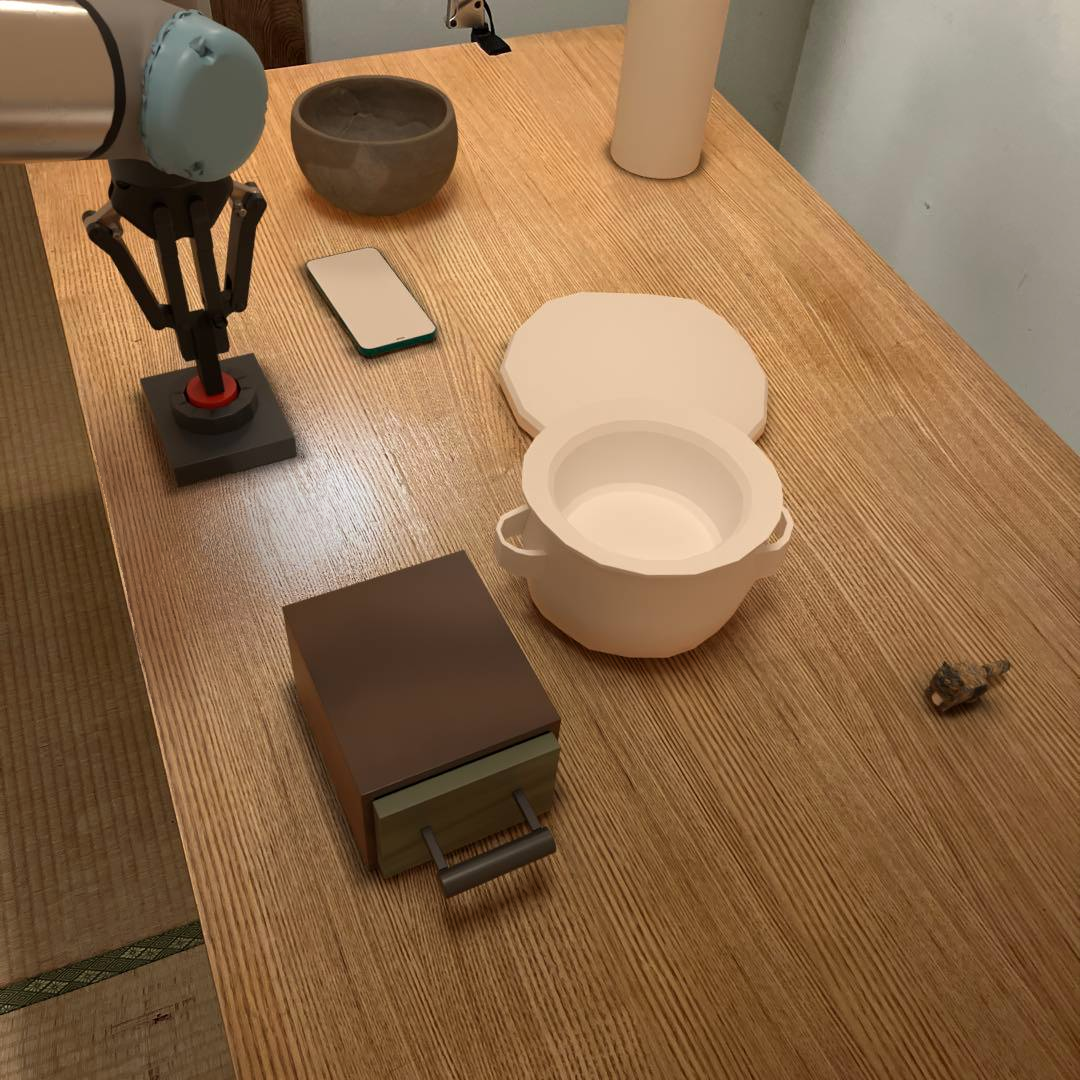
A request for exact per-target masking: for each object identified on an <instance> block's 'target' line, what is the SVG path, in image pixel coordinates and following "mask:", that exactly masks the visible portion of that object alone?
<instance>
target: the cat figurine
mask: <svg viewBox="0 0 1080 1080" xmlns="http://www.w3.org/2000/svg"><path fill="white" fill-rule="evenodd" d="M1010 670H1011V663H1010V662H1009V661H1007V660H1005V659H1000V660H995V661H993V662H992V661H991V662H988V663H986V664H985V663H984V664H982V665H975V664H973V663H971V662H969V661H968V660H964V661H961V662H958V663H953V664H951V665H950V664H949V663H948V662H947V661H946V660H943V663H942V665H941V666H940V667H939V668H938V669H937V671H936V672H935V673H933V675H932V677H931V679H930V680H929V682H928V684H929V686H928V687H926V688H925V689H924V692H925V693H926V694H927V695H928V696H929V697H930V696H931V700H932V703H933V704H935V705H936V706H937V707H938V709H939V710H940V711H941V712H945V711H948V710H949V709H950V708H952V707H954V706H957V705H959V704H961V703H967V704H971V703H974V702H976V701H977V700H978V699H979V698H980V697H981V696H983V695H984V694H985V693H987V692H988V691H989V687H988V683H987V680H988V679H992V678H994V677H998V676H1001V675H1003V674H1005V673H1008V671H1010Z"/></svg>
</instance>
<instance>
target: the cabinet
mask: <svg viewBox="0 0 1080 1080" xmlns="http://www.w3.org/2000/svg"><path fill="white" fill-rule="evenodd" d="M281 611H282V615H283V621H284V627H285V632H286V633H285V634H286V638H287V644H288V649H289V656H290V660H291V661H290V662H291V668H292V673H293V679H294V685H295V689H296V694H297V696H298V700H299V701H300V703H301V706H302V708H303V711H304V714H305V716H306V719H307V722H308V723H309V726H310V729H311V731H312V734H313V736H314V739H315V741H316V743H317V746H318V749H319V751H320V753H321V756H322V758H323V762H324V763H325V766H326V769H327V771H328V773H329V776H330V778H331V781H332V784H333V786H334V788H335V791H336V793H337V796H338V799H339V801H340V802H341V807H342V808H343V811H344V813H345V816H346V819H347V821H348V823H349V826H350V828H351V831H352V833H353V837H354V839H355V840H356V844H357V846H358V848H359V851H360V853H361V855H362V858H363V860H364V864H365V865H366V868H367V871H368V872H371V871H373V870H376V869H380V867H379V864H378V857H377V847H376V836H375V825H374V815H373V804H372V802H373V801H375V799H374V798H375V797H378V796H381V795H383V794H386V793H388V792H391V791H394V790H396V789H399V788H401V787H404V786H406V785H409V784H412V783H414V782H417V781H419V780H422V779H424V778H427V777H430V776H432V775H435V774H437V773H440V772H443V771H445V770H448V769H450V768H453V767H455V766H458V765H461V764H463V763H466V762H468V761H471V760H473V759H476V758H479V757H481V756H484V755H486V754H489V753H492V752H494V751H497V750H499V749H502V748H504V747H507V746H510V745H512V744H515V743H517V742H520V741H523V740H525V739H528V738H530V739H529V740H532V739H535V738H537V737H540V736H542V735H545V734H547V733H550V732H553V734H554V736H555V738H556V739H557V741H558V742H559V738H560V731H561V725H562V717H561V715H560V713H559V711H558V710H557V708H556V707H555V705H554V703H553V701H552V700H551V698H550V696H549V695H548V692H547V691H546V689H545V687H544V686H543V684H542V682H541V680H540V679H539V677H538V675H537V674H536V672H535V670H534V668H533V667H532V665H531V663H530V661H529V659H528V658H527V656H526V655H525V653H524V651H523V649H522V647H521V646H520V644H519V642H518V641H517V639H516V637H515V635H514V633H513V632H512V630H511V629H510V627H509V625H508V623H507V622H506V619H505V618H504V615H502V613H501V611H500V609H499V607H498V605H497V603H496V602H495V600H494V598H493V597H492V595H491V594H490V592H489V590H488V588H487V587H486V584H485V582H483V580H482V578H481V576H480V574H479V572H478V571H477V569H476V567H475V566H474V564H473V562H472V560H471V559H470V557H469V555H468V554H467V552H466V550H465V549H461V550H458V551H454V552H451V553H448V554H445V555H442V556H438V557H435V558H433V559H429V560H426V561H422V562H419V563H417V564H414V565H413V564H412V565H410V566H407V567H404V568H400V569H397V570H394V571H391V572H387V573H385V574H381V575H378V576H375V577H371V578H369V579H365V580H362V581H359V582H356V583H353V584H350V585H347V586H342V587H340V588H337V589H334V590H331V591H326V592H324V593H321V594H318V595H314V596H311V597H309V598H305V599H301V600H299V601H296V602H295V601H294V602H292V603H290V604H286V605H283V606H281Z"/></svg>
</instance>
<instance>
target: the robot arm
mask: <svg viewBox="0 0 1080 1080" xmlns="http://www.w3.org/2000/svg"><path fill="white" fill-rule="evenodd" d="M267 78H268V77H267V74H266V70H265V68H264V65H263V62H262V61H261V58H260V56H259V54H258V53H257V52H256V50H255V49H254V47H253V46H252V45H251V44H250V42H249V41H247V39H246V38H244V37H243V36H242V35H240V34H239V33H238V32H236V31H234V30H232V29H231V28H228V27H226V26H225V25H222V24H220V23H218V22H217V21H216V20H215V21H214V20H213V19H211V18H209V17H207V16H205V15H204V14H203V12H202V11H200V10H198V5H197V0H0V166H14V165H15V166H16V165H29V164H46V163H60V162H61V163H63V162H64V163H65V162H78V161H79V162H80V161H105V160H106V161H107V164H108V168H109V173H110V183H109V185H108V188H107V196H108V199H109V200H108V201H106V202H105V204H103V205H102V206H101V207H100V208H99V209H97V210H92V209H88V210H86V211H84V212H83V213H82V214H81V220H82V223H83V226H84V228H85V231H86V234H87V236H88V240H90V242H92V243H93V244H94V245H96V246H97V247H98V248H99V249H100V250H102V251H103V252H104V253H106V254H107V255H108V256H109V257H110V259H111V261H112V262H113V264H114V266H115V267H116V269H117V271H118V273H119V275H120V276H121V278H122V280H123V281H124V283H125V284H126V286H127V288H128V290H129V291H130V293H131V295H132V296H133V298H134V300H135V302H136V303H137V305H138V306H139V308H140V310H141V312H142V313H143V315H144V317H145V319H146V320H147V323H148V324H149V325H150V327H151V328H152V329H153V330H155V331H157V332H158V331H163V330H165V329H166V328H169V329H172V330H173V331H174V335H175V340H176V344H177V348H178V350H179V353H180V355H181V357H182V359H183V360H184V362H186V363H188V362H193V361H194V362H195V366H197V371H198V376H199V378H200V381H201V383H202V385H203V388H204V390H205V393H206V395H207V396H210V395H214V394H219V393H223V392H225V389H224V384H223V379H222V374H221V368H220V363H219V360H220V357H219V355H223V354H226V353H229V351H230V347H231V344H230V340H229V339H230V338H229V334H228V326H229V321H228V317H229V316H230V315H231V314H233V313H237V314H240V313H243V312H245V311H246V310H247V308H248V304H249V303H248V302H249V295H250V286H251V285H250V284H251V277H252V268H253V261H254V260H253V259H254V252H255V242H256V235H257V234H256V233H257V228H258V225H259V223H260V221H261V220H262V217H264V214H265V211H266V210H267V207H268V201H267V200H266V198H265V197H264V194H263V193H262V191H261V189H260V188H259V186H258V185H257V183H255V182H254V181H246V182H244V183H242V182H240V181H237V180H234V179H233V177H232V174H233V173H234V172H236V171H237V170H239V169H240V168H241V167H242V166H243V165H245V163H247V161H248V160H249V159H250V158H251V156H252V154H253V153H254V152H255V150H256V148H257V146H258V144H259V142H260V140H261V137H262V135H263V132H264V130H265V127H266V113H267V111H268V104H267V103H268V100H269V97H270V96H269V85H268V79H267ZM227 203H228V205H229V207H230V208H231V212H230V219H229V229H228V241H227V250H226V251H227V252H226V259H225V269H224V280H223V290H222V289H221V284H220V279H219V273H218V268H217V262H216V258H215V253H214V252H215V251H214V248H215V247H214V241H213V240H214V239H213V235H212V229H213V227H214V226H215V224H216V223H217V221H218V219H219V217H220V215H221V213H222V212H223V210H224V208H225V206H226V205H227ZM122 218H123V219H124V220H125V221H127V222H128V223H130V224H131V225H132V226H133V227H135V228H136V229H137V230H139V231H140V232H141V233H142V234H143V235H145V236H146V237H148V238H149V239H151V240H152V241H153V246H154V249H155V255H156V258H157V259H156V260H157V263H158V269H159V272H160V276H161V281H162V285H163V290H164V294H165V299H166V303H160V302H159V300H158V298H157V297H156V295H155V293H154V292H153V290H152V287H150V285H149V282H148V281H147V279H146V277H145V276H144V274H143V272H142V270H141V268H140V267H139V265H138V263H137V262H136V260H135V258H134V256H133V255H132V252H131V251H130V249H129V247H128V246H127V243H126V242H125V240H124V239H123V235H124V227H123V225H122V222H121V219H122ZM185 238H186V239H189V245H190V250H191V255H192V258H193V260H192V261H193V265H194V269H195V274H196V278H197V284H198V288H199V294H200V299H201V303H202V305H203V308H199V309H195V310H190V307H189V302H188V297H187V293H186V288H185V283H184V277H183V274H182V269H181V263H180V258H179V250H178V245H177V241H179V240H181V239H185Z"/></svg>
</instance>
